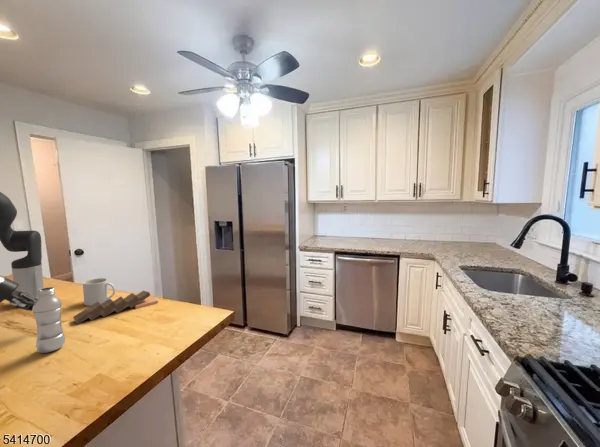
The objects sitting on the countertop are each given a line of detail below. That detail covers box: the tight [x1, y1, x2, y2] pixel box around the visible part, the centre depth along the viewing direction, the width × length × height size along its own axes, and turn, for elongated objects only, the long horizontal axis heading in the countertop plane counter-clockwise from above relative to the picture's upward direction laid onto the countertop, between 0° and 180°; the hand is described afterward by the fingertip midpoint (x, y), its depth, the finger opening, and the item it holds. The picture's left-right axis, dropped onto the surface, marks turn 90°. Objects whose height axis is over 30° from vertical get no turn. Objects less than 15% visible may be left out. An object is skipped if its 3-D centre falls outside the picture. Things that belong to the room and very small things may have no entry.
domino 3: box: [100, 296, 127, 318], centre depth 107 cm, size 2×5×9 cm
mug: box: [82, 277, 116, 307], centre depth 118 cm, size 11×10×10 cm
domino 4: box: [114, 292, 138, 314], centre depth 111 cm, size 2×5×9 cm
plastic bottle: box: [32, 286, 66, 354], centre depth 80 cm, size 6×7×20 cm
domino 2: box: [88, 298, 115, 321], centre depth 104 cm, size 2×5×9 cm
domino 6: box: [133, 297, 159, 309], centre depth 116 cm, size 2×5×9 cm
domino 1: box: [73, 301, 103, 325], centre depth 101 cm, size 2×5×9 cm
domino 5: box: [126, 290, 151, 309], centre depth 115 cm, size 2×5×9 cm
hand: (48, 311), depth 93 cm, fingers closed
